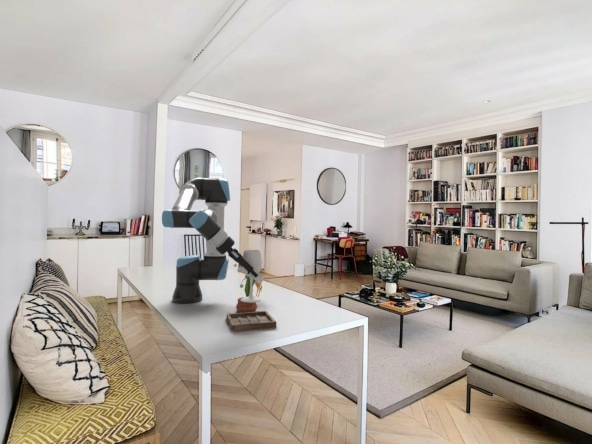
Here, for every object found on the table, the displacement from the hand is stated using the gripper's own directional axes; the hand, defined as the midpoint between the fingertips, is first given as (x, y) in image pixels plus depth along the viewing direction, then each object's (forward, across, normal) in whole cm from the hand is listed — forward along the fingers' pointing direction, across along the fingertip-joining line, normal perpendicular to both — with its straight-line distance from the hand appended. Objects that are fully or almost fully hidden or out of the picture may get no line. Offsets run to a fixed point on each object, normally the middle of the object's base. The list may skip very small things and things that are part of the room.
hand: (259, 279), depth 143 cm
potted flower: (+12, -18, -15) cm, 27 cm away
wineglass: (+4, 0, -9) cm, 10 cm away
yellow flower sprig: (+16, -36, -11) cm, 40 cm away
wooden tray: (+11, 0, -16) cm, 19 cm away
